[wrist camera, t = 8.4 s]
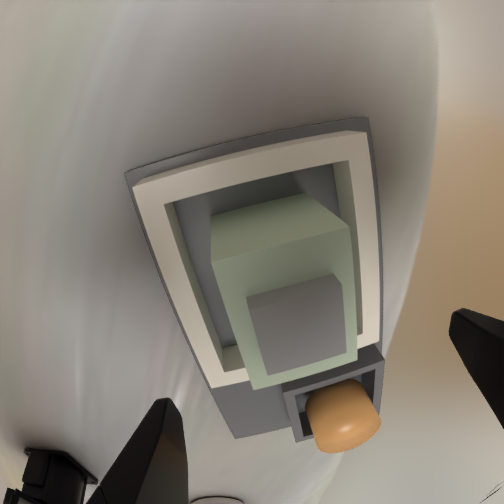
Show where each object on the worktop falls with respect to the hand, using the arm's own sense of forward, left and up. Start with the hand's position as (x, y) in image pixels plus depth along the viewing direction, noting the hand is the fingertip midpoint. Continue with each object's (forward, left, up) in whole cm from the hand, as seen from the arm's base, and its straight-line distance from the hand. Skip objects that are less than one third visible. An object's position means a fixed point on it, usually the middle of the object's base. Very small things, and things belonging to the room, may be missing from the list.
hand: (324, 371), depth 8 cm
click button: (-10, -2, -6) cm, 12 cm away
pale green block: (0, 0, -8) cm, 8 cm away
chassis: (-4, 0, -8) cm, 9 cm away
